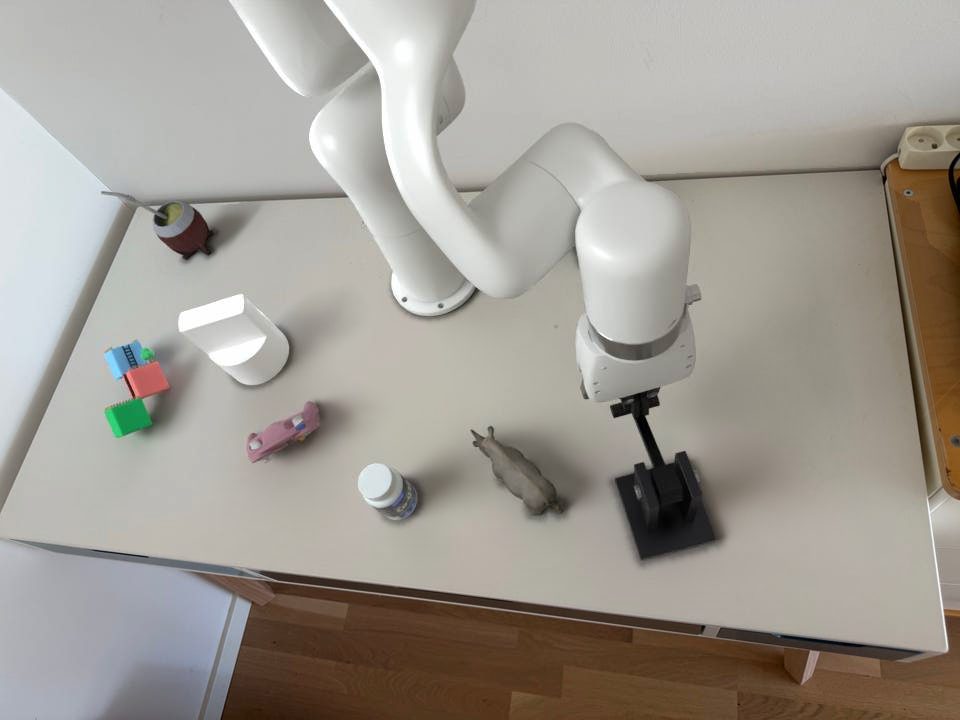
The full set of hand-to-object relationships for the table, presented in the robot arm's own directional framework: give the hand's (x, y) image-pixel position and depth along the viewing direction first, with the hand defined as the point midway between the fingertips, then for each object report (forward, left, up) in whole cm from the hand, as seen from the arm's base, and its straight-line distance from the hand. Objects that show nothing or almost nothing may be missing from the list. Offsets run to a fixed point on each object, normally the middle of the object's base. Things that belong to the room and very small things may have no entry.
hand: (636, 404), depth 68 cm
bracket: (+9, 0, -8) cm, 13 cm away
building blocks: (-25, -64, -9) cm, 69 cm away
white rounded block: (-26, -46, -9) cm, 53 cm away
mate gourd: (-50, -56, -9) cm, 75 cm away
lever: (+5, 0, -1) cm, 5 cm away
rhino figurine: (+1, -15, -9) cm, 17 cm away
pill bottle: (0, -29, -9) cm, 30 cm away
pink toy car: (-12, -42, -9) cm, 45 cm away
